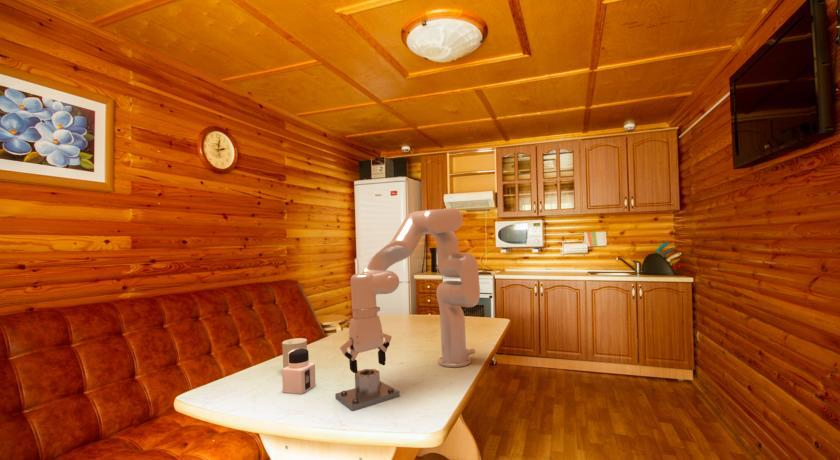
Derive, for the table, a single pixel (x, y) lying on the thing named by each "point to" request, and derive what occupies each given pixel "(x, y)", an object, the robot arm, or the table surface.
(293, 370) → the container
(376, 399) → the shaft block
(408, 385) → the table surface
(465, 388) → the table surface
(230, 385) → the table surface
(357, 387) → the hub ring
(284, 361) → the can
